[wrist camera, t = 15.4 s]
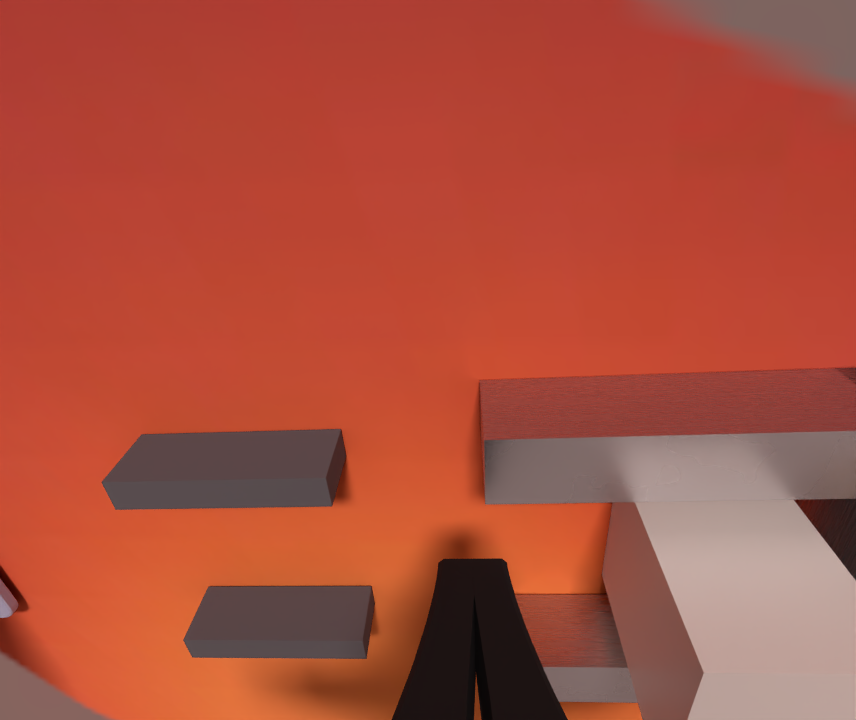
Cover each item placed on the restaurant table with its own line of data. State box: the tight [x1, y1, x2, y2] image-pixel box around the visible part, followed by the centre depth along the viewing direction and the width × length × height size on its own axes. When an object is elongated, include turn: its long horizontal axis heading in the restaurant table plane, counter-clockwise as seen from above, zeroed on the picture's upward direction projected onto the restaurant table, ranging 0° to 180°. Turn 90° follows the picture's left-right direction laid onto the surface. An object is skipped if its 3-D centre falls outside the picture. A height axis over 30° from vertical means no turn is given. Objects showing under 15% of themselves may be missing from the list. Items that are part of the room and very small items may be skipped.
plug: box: [602, 500, 856, 720], centre depth 14 cm, size 4×5×6 cm
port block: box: [480, 368, 856, 703], centre depth 15 cm, size 11×11×3 cm
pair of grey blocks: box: [102, 429, 375, 659], centre depth 16 cm, size 6×8×2 cm
